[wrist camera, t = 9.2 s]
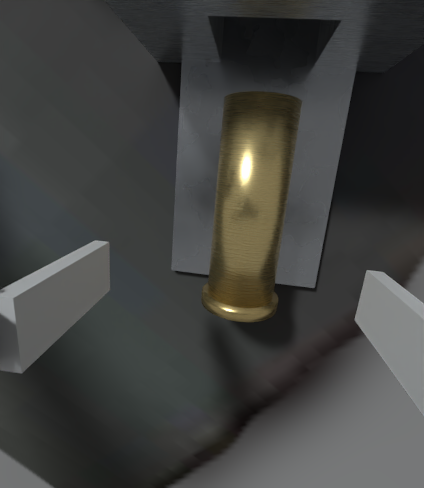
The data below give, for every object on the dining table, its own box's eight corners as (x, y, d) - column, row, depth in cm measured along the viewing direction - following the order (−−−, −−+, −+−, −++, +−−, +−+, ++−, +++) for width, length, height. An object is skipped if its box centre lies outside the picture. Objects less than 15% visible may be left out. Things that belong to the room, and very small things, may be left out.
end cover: (207, 283, 25) (195, 315, 19) (222, 107, 21) (212, 86, 16) (273, 292, 24) (280, 327, 19) (300, 112, 20) (318, 92, 15)
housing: (151, 265, 26) (81, 331, 15) (164, -151, 18) (46, -582, 8) (337, 288, 24) (406, 382, 13) (432, -159, 17) (742, -719, 6)
